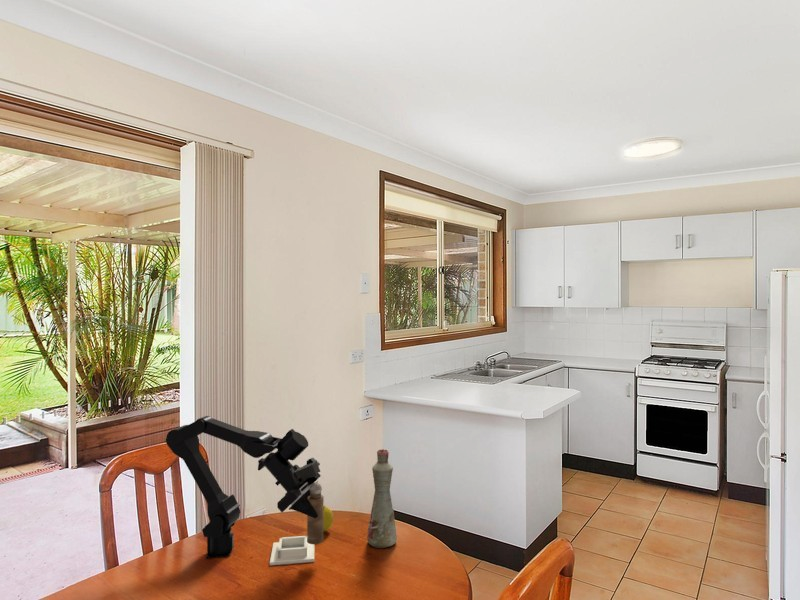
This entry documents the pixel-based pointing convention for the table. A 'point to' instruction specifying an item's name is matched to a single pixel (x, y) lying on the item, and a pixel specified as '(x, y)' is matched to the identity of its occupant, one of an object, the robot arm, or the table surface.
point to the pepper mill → (317, 523)
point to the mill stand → (292, 551)
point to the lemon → (327, 518)
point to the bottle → (382, 505)
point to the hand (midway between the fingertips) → (320, 513)
